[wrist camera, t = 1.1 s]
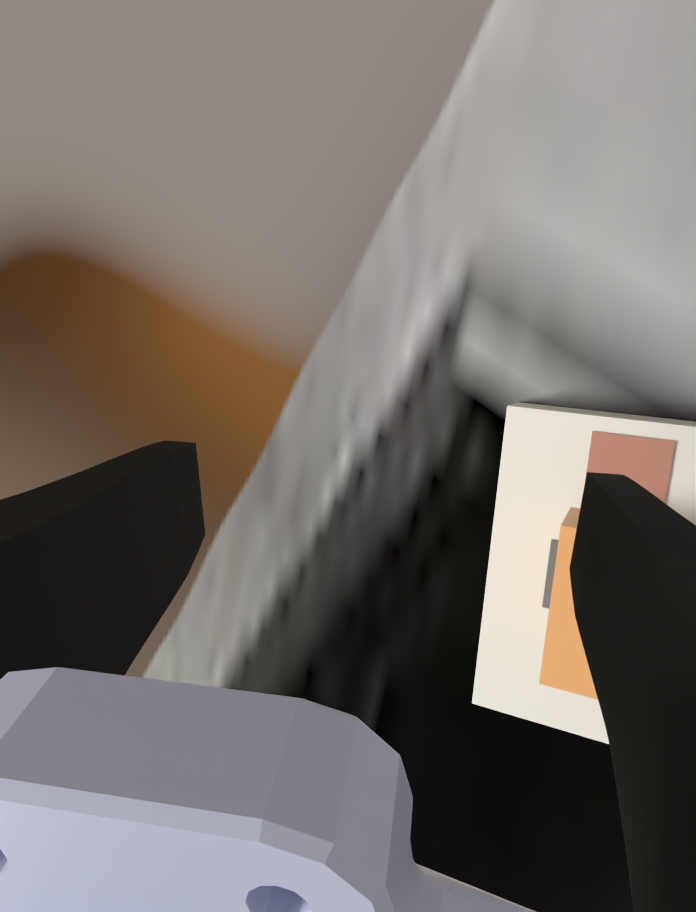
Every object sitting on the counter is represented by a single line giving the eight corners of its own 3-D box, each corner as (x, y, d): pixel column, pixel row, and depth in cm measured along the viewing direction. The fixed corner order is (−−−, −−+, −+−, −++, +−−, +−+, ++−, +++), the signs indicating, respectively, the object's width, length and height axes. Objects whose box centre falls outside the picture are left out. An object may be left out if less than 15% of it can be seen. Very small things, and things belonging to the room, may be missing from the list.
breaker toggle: (647, 673, 21) (646, 713, 19) (550, 649, 22) (538, 683, 20) (672, 523, 20) (674, 545, 18) (571, 507, 21) (560, 524, 19)
